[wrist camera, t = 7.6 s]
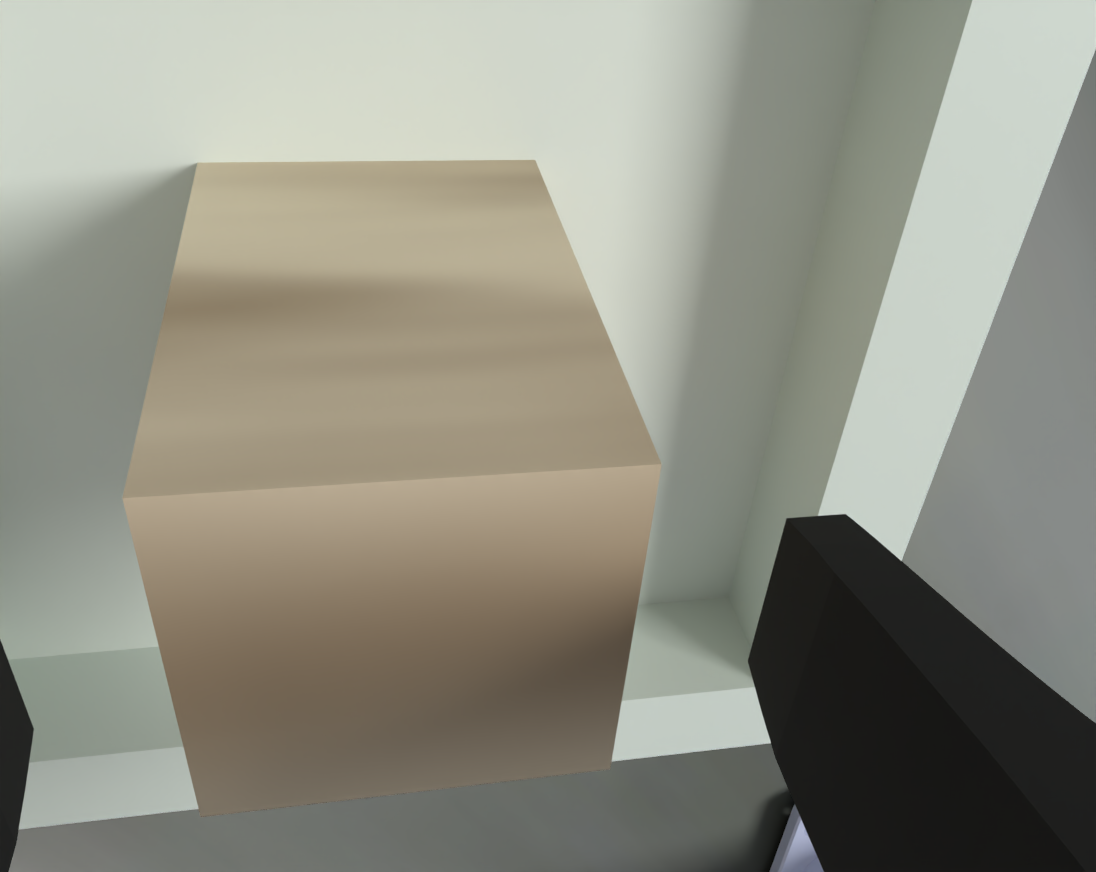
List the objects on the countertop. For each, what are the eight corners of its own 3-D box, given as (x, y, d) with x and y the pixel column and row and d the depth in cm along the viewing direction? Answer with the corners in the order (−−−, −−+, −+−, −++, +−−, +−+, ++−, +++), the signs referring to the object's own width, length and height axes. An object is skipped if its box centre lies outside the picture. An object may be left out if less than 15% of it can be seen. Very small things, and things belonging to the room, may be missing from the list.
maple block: (520, 419, 15) (609, 768, 10) (237, 434, 14) (200, 817, 10) (535, 160, 13) (661, 464, 8) (197, 162, 12) (122, 498, 7)
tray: (784, 629, 20) (835, 735, 18) (-66, 709, 17) (-114, 844, 15) (1080, -354, 11) (1245, -349, 9) (-632, -509, 8) (-932, -556, 6)
